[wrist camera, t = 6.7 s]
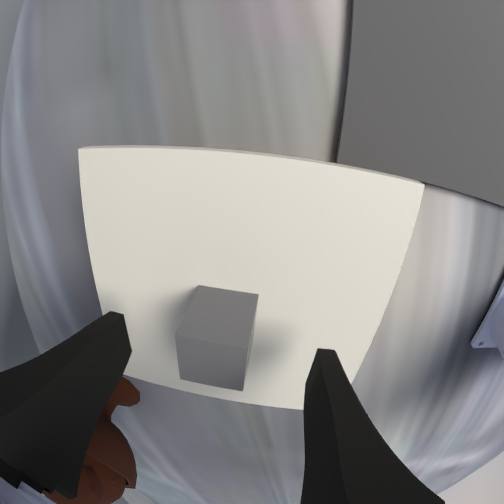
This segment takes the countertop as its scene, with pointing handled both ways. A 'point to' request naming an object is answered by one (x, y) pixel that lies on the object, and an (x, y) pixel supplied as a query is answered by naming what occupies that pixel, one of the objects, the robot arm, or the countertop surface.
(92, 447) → the ice cream bowl
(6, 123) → the countertop surface
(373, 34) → the mat
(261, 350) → the cover sheet
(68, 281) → the countertop surface
